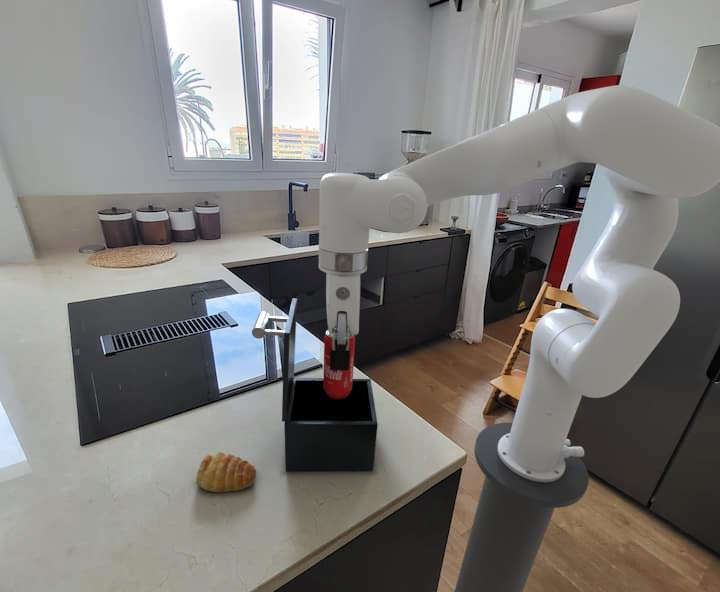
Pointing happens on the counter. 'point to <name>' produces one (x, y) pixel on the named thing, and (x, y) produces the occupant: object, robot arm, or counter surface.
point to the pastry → (225, 473)
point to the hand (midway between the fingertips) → (339, 359)
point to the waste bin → (330, 428)
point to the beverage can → (337, 380)
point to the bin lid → (289, 348)
